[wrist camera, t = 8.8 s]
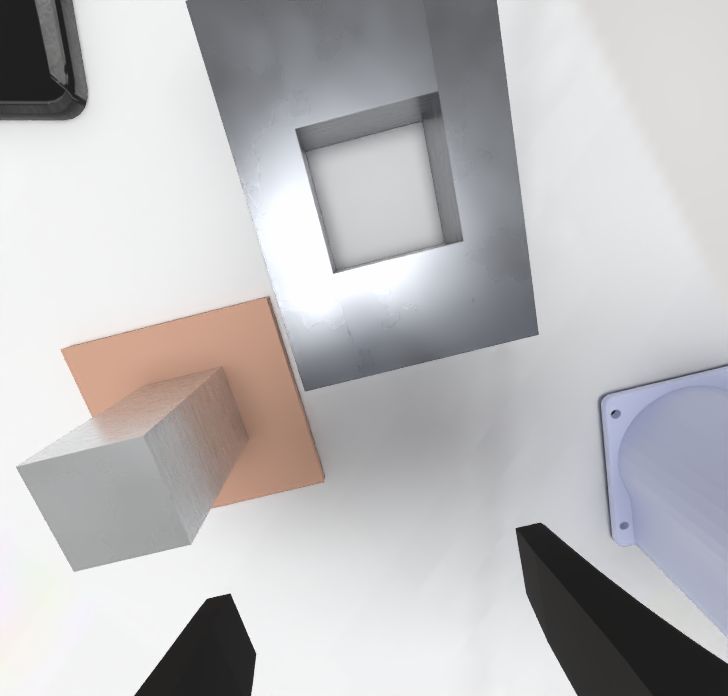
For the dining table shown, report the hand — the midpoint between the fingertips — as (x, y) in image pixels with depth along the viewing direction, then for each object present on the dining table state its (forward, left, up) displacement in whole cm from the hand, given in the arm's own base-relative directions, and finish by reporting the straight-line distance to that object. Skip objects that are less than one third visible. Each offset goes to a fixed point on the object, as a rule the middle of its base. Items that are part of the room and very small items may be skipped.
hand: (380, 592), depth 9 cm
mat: (+2, +8, -10) cm, 13 cm away
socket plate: (+10, -3, -10) cm, 15 cm away
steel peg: (+2, +8, -10) cm, 13 cm away
